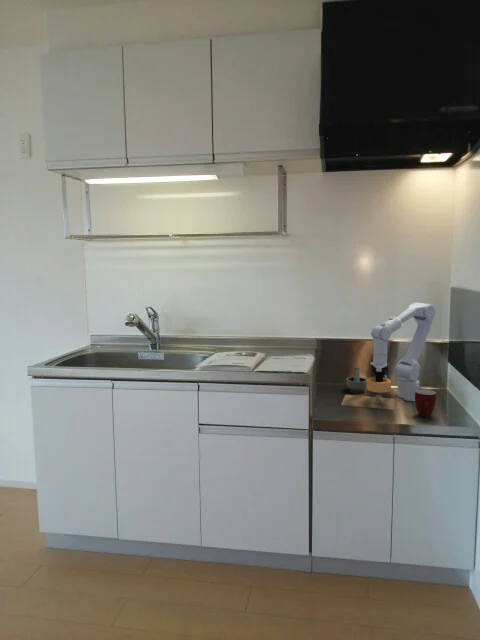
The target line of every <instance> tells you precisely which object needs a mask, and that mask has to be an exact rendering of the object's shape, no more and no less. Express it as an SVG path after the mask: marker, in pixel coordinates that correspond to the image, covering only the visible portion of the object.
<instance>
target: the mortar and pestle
mask: <svg viewBox="0 0 480 640" xmlns="http://www.w3.org/2000/svg"><path fill="white" fill-rule="evenodd" d="M353 369H354V371H353V372H354V373H353V374H354V375H353V376H349V377H347V378H346V387H347V389H348V390H349V392H351V393H352V394H362V393H363V392H364V391H365V390H367V389H366V383H367V378H365V377H361V376H360V370H361V367H360V366H354V367H353Z"/></svg>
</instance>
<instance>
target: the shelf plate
mask: <svg viewBox="0 0 480 640" xmlns="http://www.w3.org/2000/svg"><path fill="white" fill-rule="evenodd" d="M396 401H397V399H396V398H391V397H390V398H389V397H382V395H381V394H375V396H365V395H357V394H356V395H354V394H345V395H344V397H343V400H342V402H341V404H340V405H341V406H350V407H359V408H371V409H380V410H381V409H384V410H391V411H393V410H394V411H395V409H396Z"/></svg>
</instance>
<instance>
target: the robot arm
mask: <svg viewBox="0 0 480 640" xmlns="http://www.w3.org/2000/svg"><path fill="white" fill-rule="evenodd" d="M436 311H437V310H436V309H435V305H434V304H432V303H423V302H417V301H415V302H413V303H411V304H409V305H408V308H406V309H405V310H403V312H401V313H400V314H399V315H398V316H397V317H396V316H390V317H388V319H387V320H386V321H384V322H382V323H381V324H380V325H375V326H374V327H373V328H372V329H371V332H370V335H371V338H372V342H373V357H372V362H370V365H371V366H373V368H372V372H373V374H374V377H375V378H376V382H383V378H385V374H386V372H387V368H388V367H387V366H388V345H389V343H388V340H390V338H391V336H392V335H393V334H394V333H395V332H396V331H398V330H399V329H400V328H401V327H402V324H403V323H405V322H407V321H409V320H410V319H412V318H413V319H414V321H415V323H417V327H416V329H415V332H414V334H413V337H412V339H411V342H410V344H409V347H408V349H407V352H406V354H405V356H404V357H401V358H400V359H399V361H398V362H397V363H396V365H395V367H394V371H393V372H394V375H395V376H396V378H397V397H399V398H402V399H403V401H407V402H415V391H416V390H419V389H420V380H419V379H418V377H420V369H421V365H420V363H419V362H418V361H419V358H420V355H421V352H422V351H423V347H424V345H425V343H426V340H427V339H428V336H429V333H430V330H431V328H432V325H433V320H434V318H435V316H436V314H437V313H436Z"/></svg>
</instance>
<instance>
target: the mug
mask: <svg viewBox="0 0 480 640" xmlns="http://www.w3.org/2000/svg"><path fill="white" fill-rule="evenodd" d="M436 401H437V392H436V391H435V390H431V389H425V388H424V389H423V388H422V389H420V388H419V390H416V391H415V401H414V402H415V408H416V411H417V413H418V416H420V417H421V418H430V417H431V415H432V414H433V412H434V410H435V406H436Z"/></svg>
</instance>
